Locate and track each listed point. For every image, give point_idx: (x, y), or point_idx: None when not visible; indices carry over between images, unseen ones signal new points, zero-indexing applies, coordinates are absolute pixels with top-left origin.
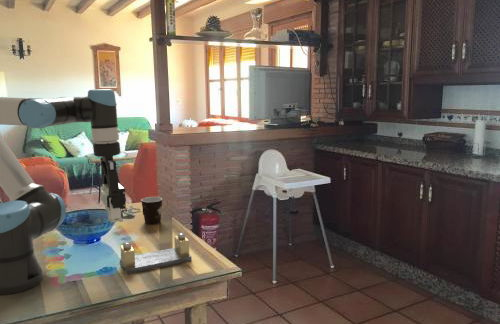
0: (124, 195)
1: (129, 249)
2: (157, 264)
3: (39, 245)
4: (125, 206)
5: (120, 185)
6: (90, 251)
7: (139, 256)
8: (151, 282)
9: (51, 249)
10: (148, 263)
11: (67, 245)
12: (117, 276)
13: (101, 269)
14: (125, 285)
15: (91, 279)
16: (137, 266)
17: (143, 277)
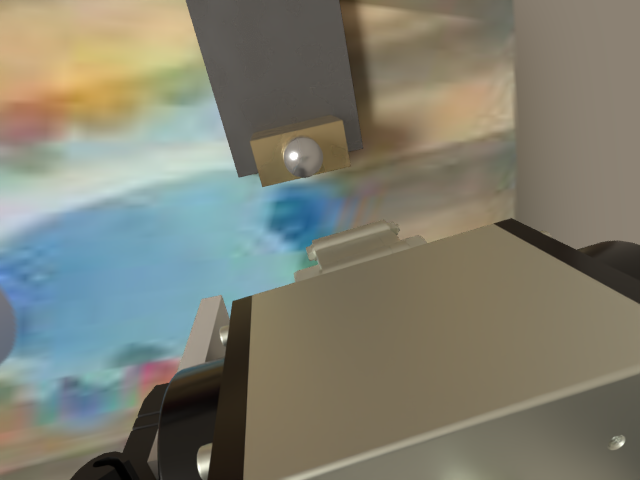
0: (626, 284)
1: (327, 143)
2: (339, 11)
3: (20, 452)
4: (524, 225)
5: (502, 426)
6: (100, 290)
7: (238, 92)
8: (460, 54)
9: (65, 412)
10: (330, 54)
11: (24, 374)
12: (366, 179)
13: (289, 236)
14: (446, 150)
15: None
16: (347, 105)
17: (407, 83)
